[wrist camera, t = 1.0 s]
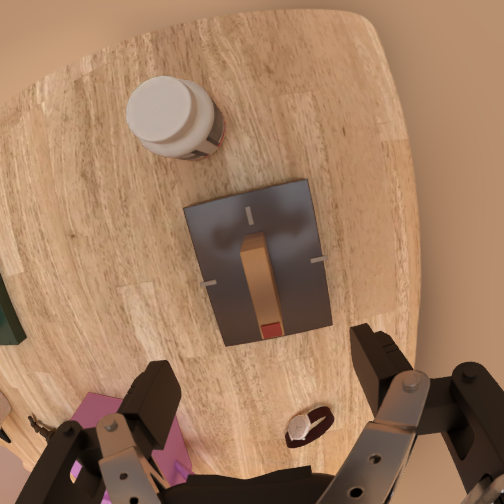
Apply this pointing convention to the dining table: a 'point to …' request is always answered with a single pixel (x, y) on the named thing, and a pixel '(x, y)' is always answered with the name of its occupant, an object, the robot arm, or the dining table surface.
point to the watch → (301, 425)
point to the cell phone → (4, 436)
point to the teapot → (169, 459)
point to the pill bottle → (175, 118)
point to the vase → (4, 408)
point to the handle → (262, 285)
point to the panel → (280, 251)
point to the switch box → (9, 320)
